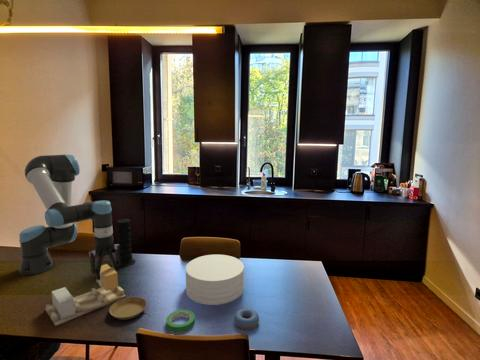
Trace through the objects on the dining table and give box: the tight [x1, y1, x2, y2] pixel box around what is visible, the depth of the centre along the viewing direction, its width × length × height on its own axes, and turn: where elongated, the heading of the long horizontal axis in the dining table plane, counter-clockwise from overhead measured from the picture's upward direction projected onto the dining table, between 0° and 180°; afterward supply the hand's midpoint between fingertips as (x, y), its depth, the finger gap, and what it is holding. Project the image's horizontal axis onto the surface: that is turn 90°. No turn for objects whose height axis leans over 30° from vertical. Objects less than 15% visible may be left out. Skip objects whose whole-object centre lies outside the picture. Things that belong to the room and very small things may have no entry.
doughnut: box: [233, 307, 260, 330], centre depth 113 cm, size 10×10×5 cm
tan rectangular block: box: [96, 263, 119, 291], centre depth 130 cm, size 12×5×7 cm, turn 46°
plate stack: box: [185, 254, 245, 306], centre depth 137 cm, size 28×28×12 cm
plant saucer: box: [108, 296, 148, 321], centre depth 119 cm, size 15×15×3 cm
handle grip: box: [116, 218, 136, 268], centre depth 163 cm, size 10×26×10 cm
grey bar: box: [51, 286, 75, 319], centre depth 118 cm, size 12×5×7 cm, turn 46°
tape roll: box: [165, 309, 196, 334], centre depth 112 cm, size 11×11×3 cm
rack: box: [45, 285, 127, 327], centre depth 125 cm, size 15×28×3 cm, turn 136°
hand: (107, 283), depth 130 cm, fingers closed on tan rectangular block, 5 cm apart
